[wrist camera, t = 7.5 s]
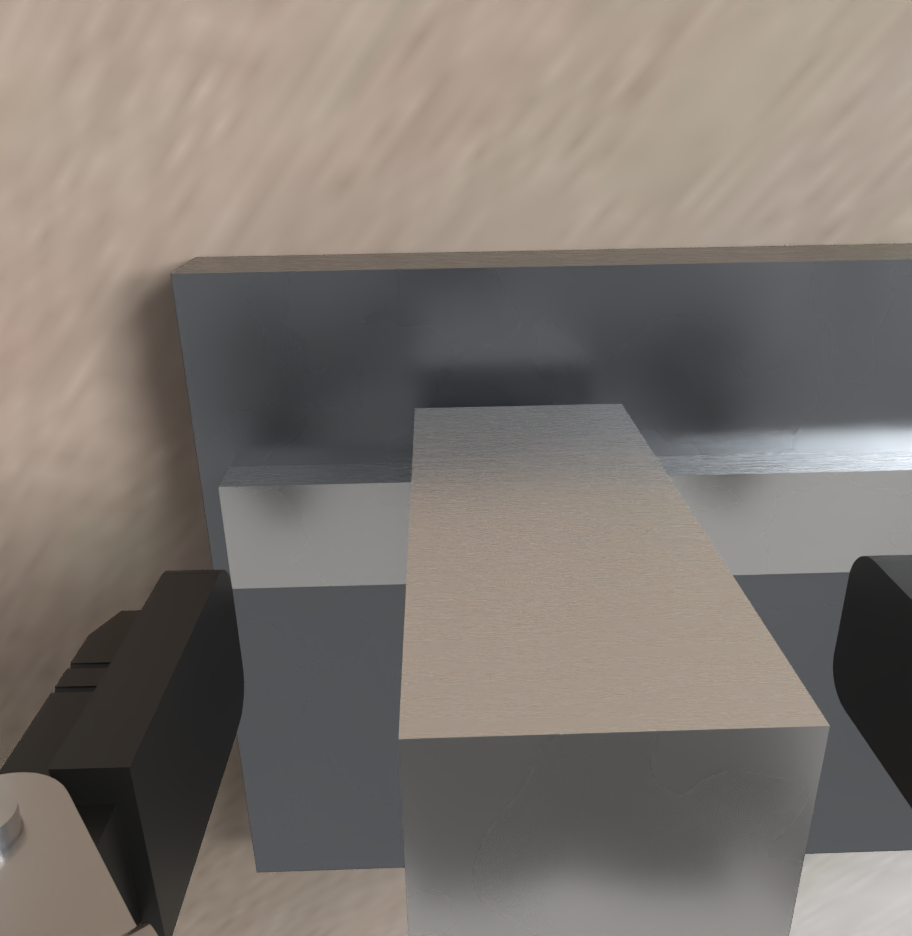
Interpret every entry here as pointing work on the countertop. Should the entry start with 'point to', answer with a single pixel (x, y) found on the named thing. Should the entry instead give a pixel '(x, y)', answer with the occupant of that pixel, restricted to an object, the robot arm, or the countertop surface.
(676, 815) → the leg
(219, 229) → the countertop surface
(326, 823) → the hole plate
